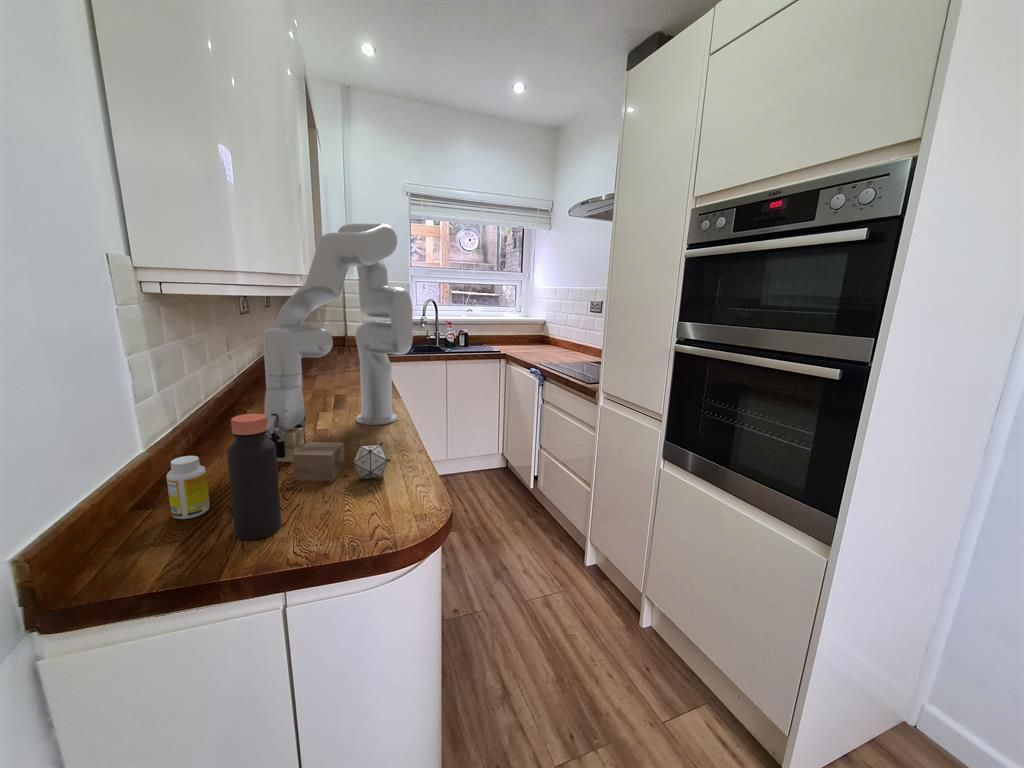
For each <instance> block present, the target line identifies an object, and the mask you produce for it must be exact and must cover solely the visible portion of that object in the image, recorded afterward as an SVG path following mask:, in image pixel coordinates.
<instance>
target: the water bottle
mask: <svg viewBox="0 0 1024 768" xmlns="http://www.w3.org/2000/svg"><path fill="white" fill-rule="evenodd" d="M230 423H231V432H232V437H234V439H235V440H234V441H233V443H231V444H230V446H229V447H227V450H226V454H227V463H228V464H227V465H228V476H229V486H230V496H231V505H232V516H233V527H234V535H235V537H236V538H237V539H238V540H241V541H248V542H249V541H257V540H258V541H259V540H261V539H264V538H268V537H270V536H272V535H274V534H275V533H277V532H278V531H279V530H280V528H281V526H282V517H281V516H282V515H281V500H280V499H281V498H280V488H279V475H278V474H279V473H278V462H277V457H276V446H275V443H274V442H273V441H272V440H270V439H269V438H267V437H266V433H267V432H268V430H267V429H268V425H267V416H266V415H265V413H244V414H240V415H236V416H234V417H232V418H231V419H230Z"/></svg>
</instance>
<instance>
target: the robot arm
mask: <svg viewBox="0 0 1024 768" xmlns="http://www.w3.org/2000/svg"><path fill="white" fill-rule="evenodd" d="M397 246H398V236H397V233H396V231H395V230H394V229H393V227H392V226H390V225H388V224H385V223H350V224H345V225H342V226H341V227H339V229H338V231H337V232H329V233H325V234H324V235H322V236H321V237H320V238H319V239H318V242H317V246H316V248H315V252H314V255H313V258H312V262H311V264H310V268H309V271H308V273H307V274H308V275H307V278H306V281H305V282H304V284H303V285H302V286H301V287H299V289H297V290H296V291H295V292H294V293H293V294H292V295H291V296H290V297H289V298H288V299H287V300H286V302H284V303H283V305H282V307H281V309H280V310H279V313H278V315H277V317H276V320H275V323H274V327H272V328H268V329H265V330H264V331H263V332H262V333H263V334H262V343H263V356H264V357H263V359H264V360H263V361H264V371H265V373H264V374H265V383H266V384H265V386H266V390H265V397H264V415H266V416H267V425H268V429H267V430H268V432H267V433H266V437H267V438H269V439H270V440H272V441H273V442H274V443H275V446H276V457H277V458H284V457H285V441H282V440H283V437H284V433H285V431H288V430H289V429H291V428H303V432H304V444H306V436H305V435H306V434H305V427H306V423H305V421H306V418H307V417H306V412H307V408H306V407H305V404H304V395H303V389H302V388H303V386H304V385H303V372H302V371H303V370H302V358H322V357H324V356H326V355H328V354H329V353H330V352H331V351H332V349H333V345H334V341H333V340H334V339H333V337H332V335H331V334H330V332H329V331H328V330H327V329H325V328H323V327H317V326H307V325H303V323H304V321H305V320H306V318H307V317H308V315H310V313H312V312H313V311H314V310H316V309H319V308H320V307H322V306H325V305H327V304H329V303H331V302H333V301H335V300H337V299H338V298H340V296H341V294H342V290H343V287H344V284H345V280H346V277H347V274H348V270H349V268H350V267H352V268H353V267H355V268H356V271H357V277H358V279H357V280H358V297H359V299H358V301H359V307H360V308H359V309H360V312H361V314H362V315H365V316H366V317H369V318H377V319H390V322H386V321H384V322H382V321H367V322H363V323H361V324H360V325H359V326H358V327H357V328H356V331H355V343H356V346H357V350H358V356H359V371H360V372H359V374H360V376H359V377H360V379H359V380H360V404H361V405H360V407H361V409H360V411H361V413H360V414H358V415H357V416H356V418H355V419H356V422H357V423H359V424H361V425H366V426H367V425H368V426H381V425H387V424H391V423H394V422H396V421H397V420H398V415H397V414H396V413H395V412H393V399H392V398H393V384H392V383H393V382H392V381H393V380H392V379H393V378H392V374H393V373H392V372H393V371H392V369H393V368H392V363H391V360H390V359H389V357H388V355H401V356H403V355H406V354H407V353H409V352H410V350H411V349H412V345H413V341H414V340H413V338H414V335H413V334H414V333H413V332H414V331H413V322H414V321H413V302H412V297H411V296H410V294H409V292H408V291H407V290H406V289H405V288H403V287H398V286H390V285H389V280H388V279H389V277H388V270H387V267H386V266H387V265H386V264H385V262H384V259H386V258H388V257H390V256H391V255H392V254H393V253H395V251H396V249H397ZM275 432H280V433H279V436H278V435H277V434H276V433H275Z"/></svg>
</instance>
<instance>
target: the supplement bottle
mask: <svg viewBox="0 0 1024 768" xmlns="http://www.w3.org/2000/svg"><path fill="white" fill-rule="evenodd" d="M165 477H166V485H167V491H168V493H167V494H168V498H169V506H170V512H171V513H170V514H171V516H172V517H173V518H174V519H178V520H186V519H187V520H188V519H193V518H196V517H197V518H198V517H199V516H201V515H204V514H205V513H206V512H207V511H209V509H210V506H211V504H210V496H209V495H210V493H209V487H208V486H209V485H208V479H207V470H206V467H205V466H203V465H201V463H200V458H199V456H197V455H186V456H185V455H184V456H179V457H176V458H174V459H172V460H171V461H170V470H169V471H168V472H167V474H166V476H165Z"/></svg>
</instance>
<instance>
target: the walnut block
mask: <svg viewBox="0 0 1024 768" xmlns="http://www.w3.org/2000/svg"><path fill="white" fill-rule="evenodd" d="M292 465H293V479H294V480H295V481H318V482H319V481H325V482H326V481H327V482H330V481H331V482H332V481H333V480H335V478H336V477H337V476H338V474H339V473H340V472H341V471H342V470H343V468H345V443H344V442H327V441H326V442H323V441H322V442H320V441H308V442H306V443H304V446H303V447H302V448H300V449H299V450H298V451H297V452H295V453H294V454H293V462H292Z"/></svg>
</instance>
